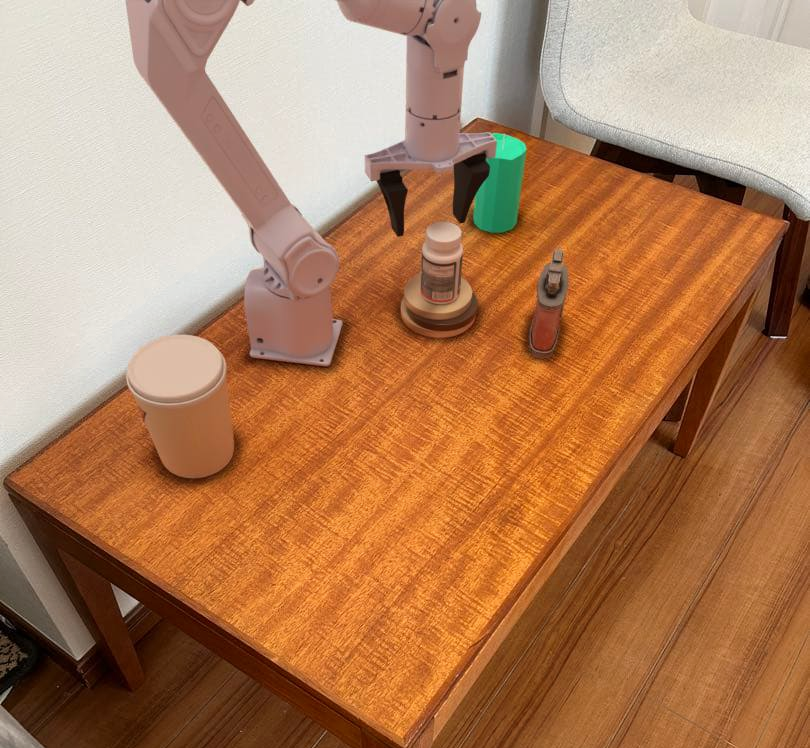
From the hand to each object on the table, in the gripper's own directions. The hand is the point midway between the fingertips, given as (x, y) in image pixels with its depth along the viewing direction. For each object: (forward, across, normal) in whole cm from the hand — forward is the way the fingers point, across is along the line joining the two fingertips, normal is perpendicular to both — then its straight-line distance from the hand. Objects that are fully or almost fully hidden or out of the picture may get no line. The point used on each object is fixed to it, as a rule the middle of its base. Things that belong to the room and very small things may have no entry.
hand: (428, 225), depth 98 cm
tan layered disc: (+10, 0, -4) cm, 11 cm away
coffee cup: (+10, -32, -16) cm, 37 cm away
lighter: (+10, +10, -12) cm, 19 cm away
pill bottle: (+7, 0, -4) cm, 8 cm away
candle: (+10, +15, +12) cm, 22 cm away
